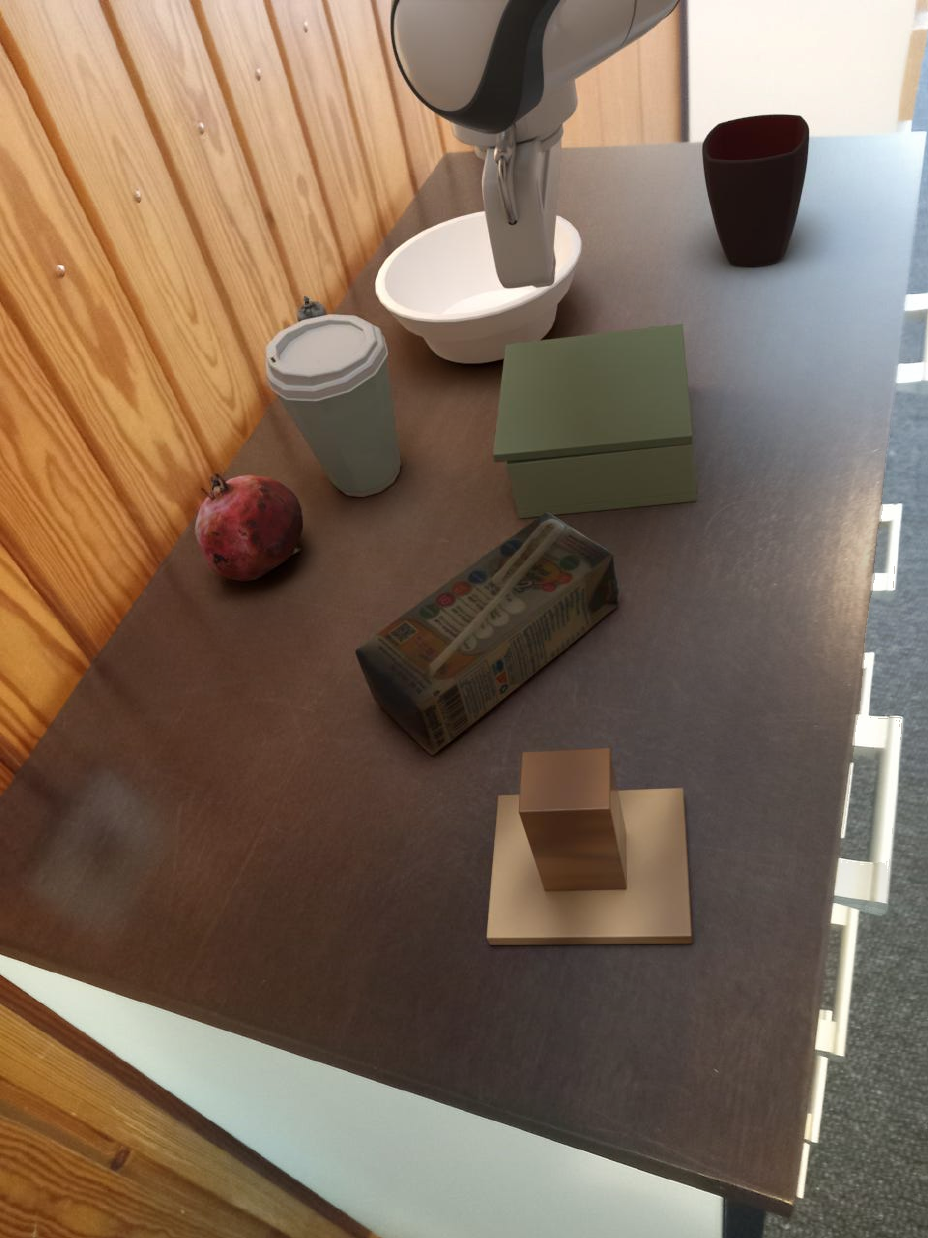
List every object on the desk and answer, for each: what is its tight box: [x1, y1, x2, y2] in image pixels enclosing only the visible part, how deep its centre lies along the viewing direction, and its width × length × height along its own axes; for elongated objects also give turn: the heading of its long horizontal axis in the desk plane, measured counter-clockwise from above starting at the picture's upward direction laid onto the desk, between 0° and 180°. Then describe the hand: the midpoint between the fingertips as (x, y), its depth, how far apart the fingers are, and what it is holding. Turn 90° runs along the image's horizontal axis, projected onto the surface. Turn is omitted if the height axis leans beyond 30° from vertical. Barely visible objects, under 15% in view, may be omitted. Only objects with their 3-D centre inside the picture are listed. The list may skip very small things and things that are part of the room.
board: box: [486, 787, 694, 946], centre depth 64 cm, size 12×10×1 cm
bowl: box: [374, 210, 583, 364], centre depth 106 cm, size 21×21×8 cm
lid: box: [492, 323, 694, 463], centre depth 87 cm, size 16×16×1 cm
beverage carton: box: [354, 512, 620, 756], centre depth 75 cm, size 8×19×7 cm, turn 130°
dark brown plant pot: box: [701, 113, 810, 267], centre depth 105 cm, size 10×14×12 cm
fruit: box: [194, 471, 304, 582], centre depth 88 cm, size 9×10×10 cm
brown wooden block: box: [519, 747, 627, 891], centre depth 60 cm, size 5×4×9 cm
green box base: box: [505, 442, 698, 519], centre depth 89 cm, size 15×16×6 cm
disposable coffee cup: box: [264, 313, 402, 498], centre depth 91 cm, size 11×11×15 cm
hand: (544, 277), depth 80 cm, fingers closed
